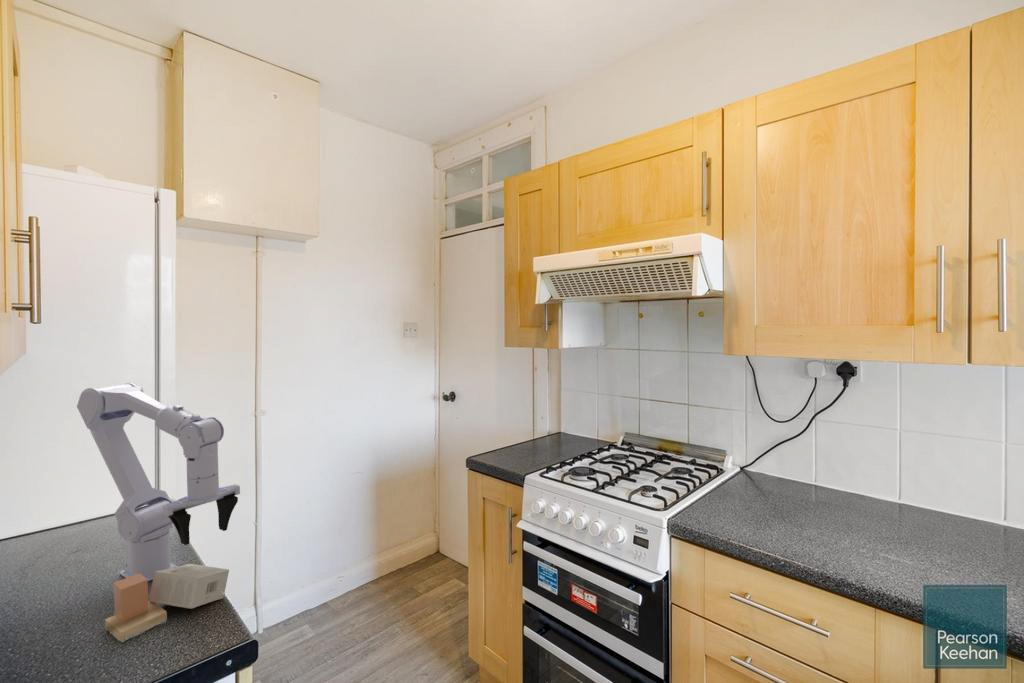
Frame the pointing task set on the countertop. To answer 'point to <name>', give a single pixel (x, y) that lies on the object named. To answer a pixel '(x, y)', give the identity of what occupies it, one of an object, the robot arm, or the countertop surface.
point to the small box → (188, 585)
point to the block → (130, 597)
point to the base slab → (136, 622)
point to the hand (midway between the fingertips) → (204, 536)
